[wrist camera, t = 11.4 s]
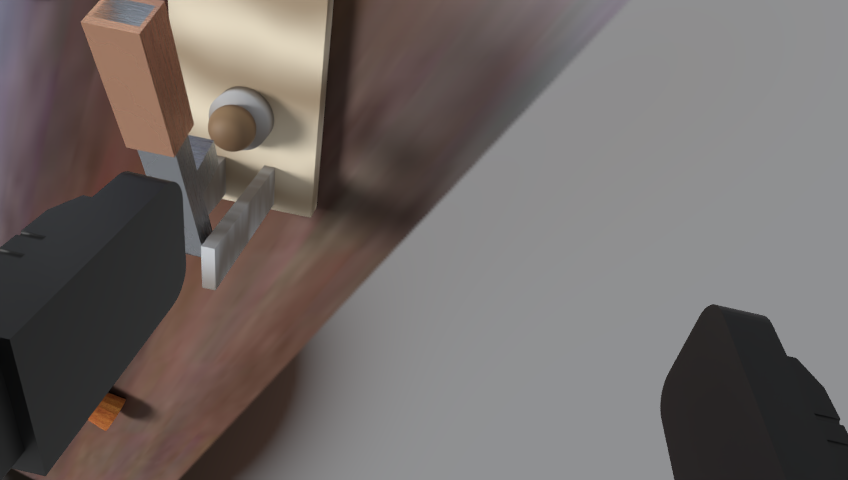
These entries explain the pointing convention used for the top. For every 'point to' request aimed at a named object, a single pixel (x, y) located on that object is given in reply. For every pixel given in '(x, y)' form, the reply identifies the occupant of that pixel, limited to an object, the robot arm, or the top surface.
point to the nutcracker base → (255, 109)
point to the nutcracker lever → (153, 102)
